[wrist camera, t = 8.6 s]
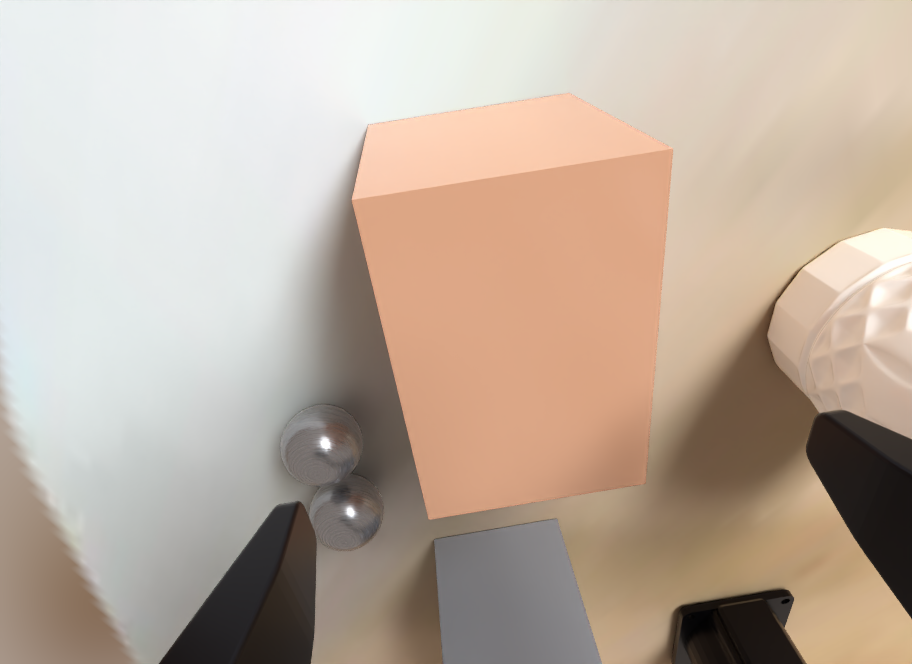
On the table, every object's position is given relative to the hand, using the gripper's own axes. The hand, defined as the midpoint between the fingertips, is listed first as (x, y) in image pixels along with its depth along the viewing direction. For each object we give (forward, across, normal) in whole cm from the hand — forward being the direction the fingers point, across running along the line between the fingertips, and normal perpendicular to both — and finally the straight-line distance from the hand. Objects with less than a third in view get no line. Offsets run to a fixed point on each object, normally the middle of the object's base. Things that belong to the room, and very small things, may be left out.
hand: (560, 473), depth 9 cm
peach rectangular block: (+10, 0, 0) cm, 10 cm away
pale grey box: (+10, +1, +19) cm, 22 cm away
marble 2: (+10, +7, +10) cm, 16 cm away
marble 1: (+10, +7, +6) cm, 14 cm away
